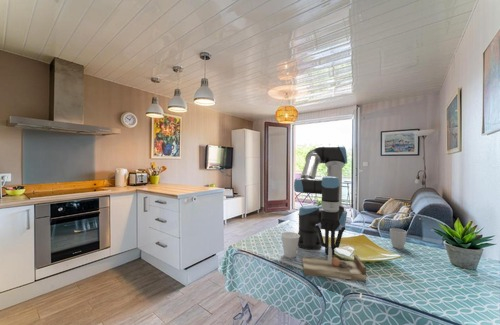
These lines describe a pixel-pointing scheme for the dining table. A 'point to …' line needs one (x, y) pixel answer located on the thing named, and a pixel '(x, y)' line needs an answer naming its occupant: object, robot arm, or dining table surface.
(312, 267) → the board
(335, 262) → the ball
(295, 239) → the cup
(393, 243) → the cup
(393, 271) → the dining table surface
